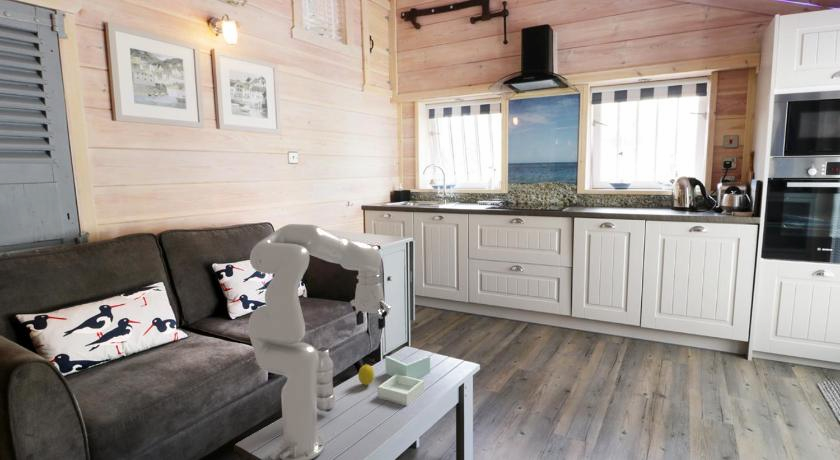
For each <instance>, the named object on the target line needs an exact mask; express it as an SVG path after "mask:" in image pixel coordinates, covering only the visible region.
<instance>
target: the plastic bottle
mask: <svg viewBox="0 0 840 460" xmlns="http://www.w3.org/2000/svg"><path fill="white" fill-rule="evenodd" d="M316 350H317V352H318V366H317V373H316V402H317V411H318V410H319V411H330V410H331V409H333V408H334V406H335V404H336V397H335V392H334V384H333V377H334V376H333V375H334V374H333V373H334V362H333V360H332V358H331V357H330V356H329V355H330V349H329V348H328V347H320V348H317V349H316Z"/></svg>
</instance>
